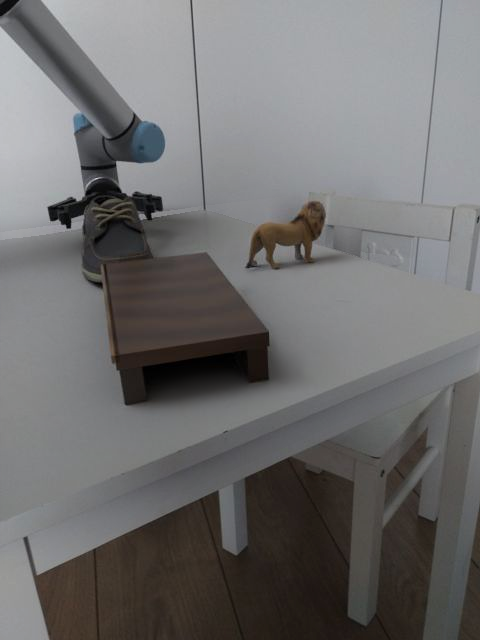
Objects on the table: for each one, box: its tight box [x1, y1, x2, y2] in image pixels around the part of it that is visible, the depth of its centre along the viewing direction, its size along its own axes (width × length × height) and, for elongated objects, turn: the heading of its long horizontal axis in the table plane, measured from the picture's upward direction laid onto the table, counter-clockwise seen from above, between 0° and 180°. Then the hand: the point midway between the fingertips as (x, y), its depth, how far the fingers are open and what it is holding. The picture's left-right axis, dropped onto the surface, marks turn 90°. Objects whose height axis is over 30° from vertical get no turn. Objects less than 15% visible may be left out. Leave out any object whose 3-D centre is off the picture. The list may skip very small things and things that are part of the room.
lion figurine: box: [244, 200, 327, 269], centre depth 88 cm, size 15×5×9 cm, turn 122°
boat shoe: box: [81, 196, 154, 283], centre depth 90 cm, size 11×29×11 cm, turn 24°
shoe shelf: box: [101, 251, 271, 405], centre depth 65 cm, size 30×14×5 cm, turn 16°
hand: (108, 216), depth 97 cm, fingers open, 13 cm apart
